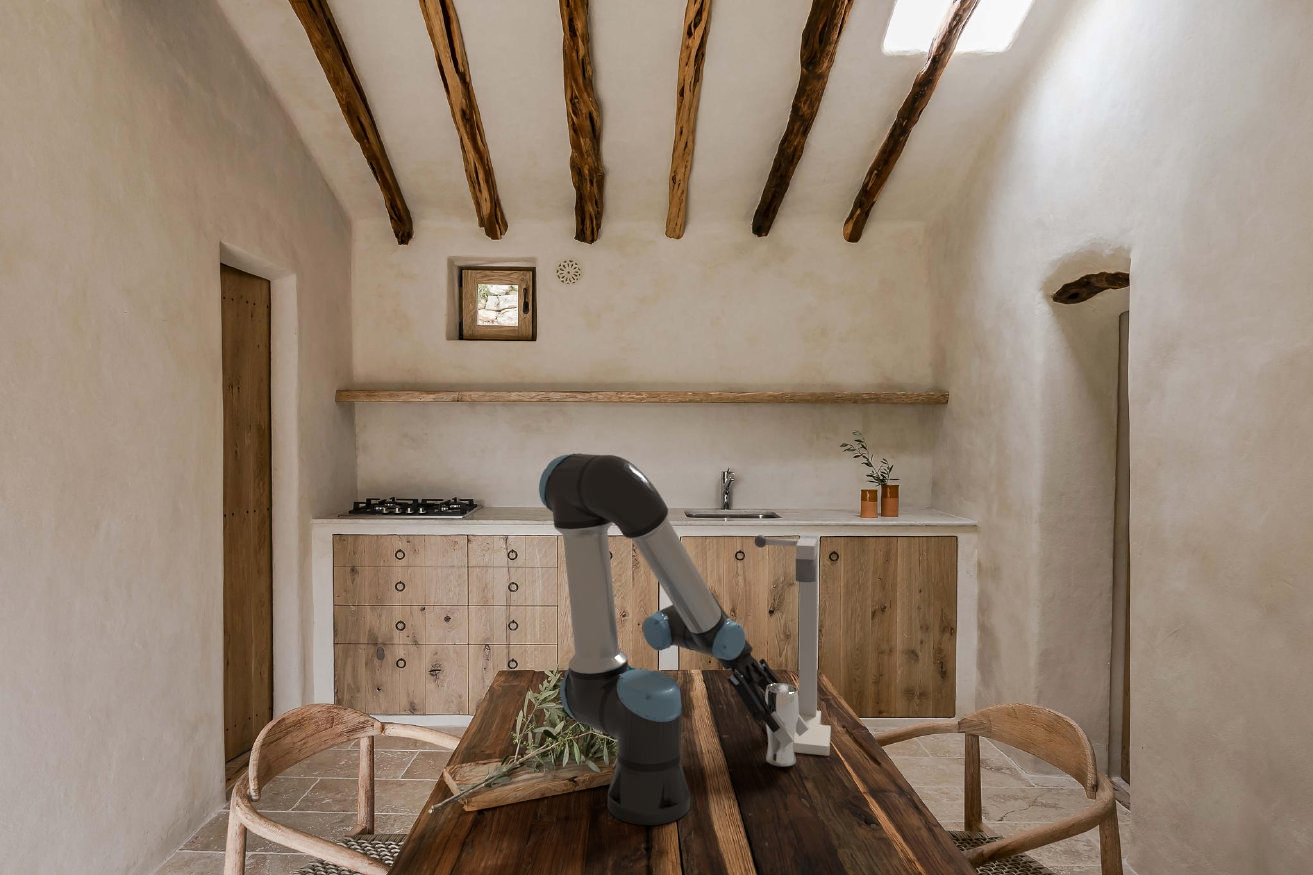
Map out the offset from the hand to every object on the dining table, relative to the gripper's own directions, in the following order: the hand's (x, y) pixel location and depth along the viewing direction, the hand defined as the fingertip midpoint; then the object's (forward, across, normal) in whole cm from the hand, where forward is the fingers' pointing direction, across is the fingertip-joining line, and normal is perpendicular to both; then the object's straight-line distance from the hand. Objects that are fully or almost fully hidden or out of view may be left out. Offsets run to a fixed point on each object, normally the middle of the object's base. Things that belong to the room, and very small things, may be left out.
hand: (797, 737), depth 157 cm
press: (-2, -17, -11) cm, 20 cm away
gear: (-33, -20, -43) cm, 58 cm away
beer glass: (+2, 0, -6) cm, 7 cm away
